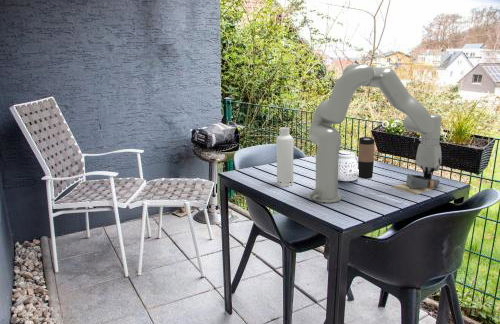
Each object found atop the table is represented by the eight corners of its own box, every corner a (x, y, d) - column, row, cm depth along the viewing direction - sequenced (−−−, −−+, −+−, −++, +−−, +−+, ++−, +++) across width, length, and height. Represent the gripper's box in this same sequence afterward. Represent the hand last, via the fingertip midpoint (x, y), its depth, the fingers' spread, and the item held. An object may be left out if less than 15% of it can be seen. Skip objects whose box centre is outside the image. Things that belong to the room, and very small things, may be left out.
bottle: (292, 187, 185) (292, 129, 178) (275, 186, 186) (275, 129, 179) (294, 182, 192) (293, 126, 185) (278, 181, 194) (277, 126, 187)
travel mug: (355, 177, 196) (357, 139, 191) (359, 174, 202) (360, 136, 197) (371, 179, 192) (373, 140, 187) (374, 175, 199) (376, 137, 194)
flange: (410, 187, 172) (412, 178, 171) (405, 182, 179) (407, 173, 177) (439, 190, 171) (441, 181, 170) (434, 186, 178) (436, 177, 176)
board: (415, 197, 166) (415, 194, 165) (390, 189, 176) (390, 187, 176) (436, 190, 173) (436, 187, 173) (410, 183, 184) (411, 181, 184)
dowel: (431, 189, 171) (432, 181, 171) (428, 188, 173) (429, 180, 172) (433, 188, 172) (434, 181, 171) (430, 187, 174) (431, 180, 173)
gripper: (410, 140, 177) (407, 178, 181) (441, 145, 164) (437, 186, 169) (420, 138, 181) (417, 175, 185) (451, 143, 168) (447, 183, 173)
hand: (427, 180), depth 177 cm, fingers closed
